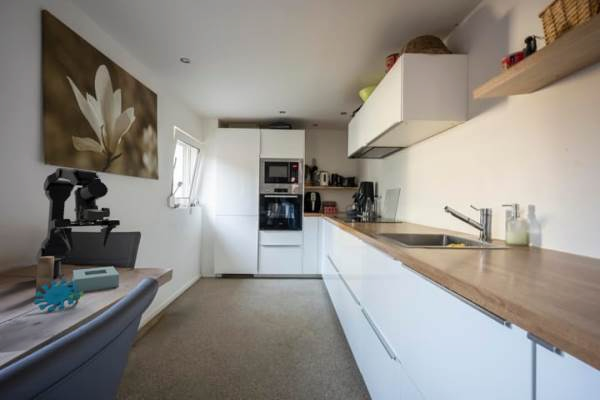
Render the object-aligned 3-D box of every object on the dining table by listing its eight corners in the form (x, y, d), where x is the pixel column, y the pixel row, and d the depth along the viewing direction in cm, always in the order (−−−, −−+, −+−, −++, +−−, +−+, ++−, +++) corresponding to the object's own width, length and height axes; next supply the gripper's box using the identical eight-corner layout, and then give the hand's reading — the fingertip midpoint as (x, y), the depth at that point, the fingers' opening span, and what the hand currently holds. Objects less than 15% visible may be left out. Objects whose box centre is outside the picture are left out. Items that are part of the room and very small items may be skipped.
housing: (72, 281, 106) (72, 270, 106) (112, 277, 114) (113, 266, 114) (73, 292, 94) (74, 279, 94) (118, 286, 102) (119, 274, 102)
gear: (26, 309, 75) (43, 276, 82) (29, 318, 78) (46, 286, 85) (76, 309, 79) (88, 279, 86) (77, 318, 83) (89, 288, 90)
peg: (40, 293, 92) (42, 256, 92) (54, 292, 93) (56, 256, 93) (32, 297, 88) (34, 258, 88) (47, 296, 89) (50, 258, 89)
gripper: (60, 197, 84) (62, 248, 81) (125, 200, 99) (129, 242, 97) (47, 205, 89) (49, 253, 87) (111, 206, 105) (114, 247, 103)
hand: (88, 248), depth 93 cm, fingers open, 9 cm apart
